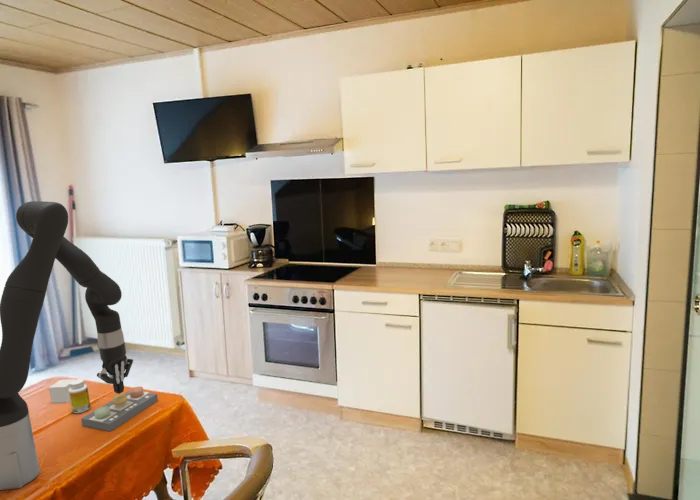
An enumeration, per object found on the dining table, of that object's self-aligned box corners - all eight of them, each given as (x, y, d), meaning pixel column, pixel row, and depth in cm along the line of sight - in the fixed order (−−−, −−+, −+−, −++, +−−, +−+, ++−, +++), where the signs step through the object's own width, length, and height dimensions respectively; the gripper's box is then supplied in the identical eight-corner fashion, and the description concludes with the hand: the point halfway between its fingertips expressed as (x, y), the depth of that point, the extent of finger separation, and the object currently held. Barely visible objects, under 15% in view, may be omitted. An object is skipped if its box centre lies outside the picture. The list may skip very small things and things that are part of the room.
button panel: (110, 431, 144) (109, 423, 144) (82, 425, 149) (80, 417, 148) (157, 400, 163) (157, 393, 162) (131, 396, 167) (130, 389, 167)
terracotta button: (136, 397, 159) (136, 393, 159) (126, 396, 160) (126, 391, 160) (146, 391, 163) (145, 387, 163) (136, 390, 164) (136, 385, 164)
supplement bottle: (92, 409, 159) (87, 381, 157) (73, 415, 155) (68, 387, 154) (89, 404, 163) (84, 376, 161) (70, 409, 160) (65, 381, 158)
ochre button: (119, 405, 152) (119, 401, 152) (109, 403, 154) (108, 399, 154) (130, 399, 156) (129, 394, 156) (120, 397, 158) (119, 393, 158)
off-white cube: (51, 403, 165) (48, 387, 164) (62, 395, 171) (59, 379, 170) (68, 402, 165) (65, 386, 164) (78, 394, 171) (75, 379, 170)
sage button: (102, 419, 146) (101, 414, 146) (91, 417, 148) (90, 412, 147) (113, 411, 150) (112, 407, 150) (103, 410, 152) (102, 405, 151)
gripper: (102, 352, 144) (111, 403, 147) (136, 336, 156) (143, 384, 159) (85, 349, 147) (94, 400, 150) (119, 334, 159) (127, 382, 162)
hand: (119, 392), depth 155 cm, fingers closed
